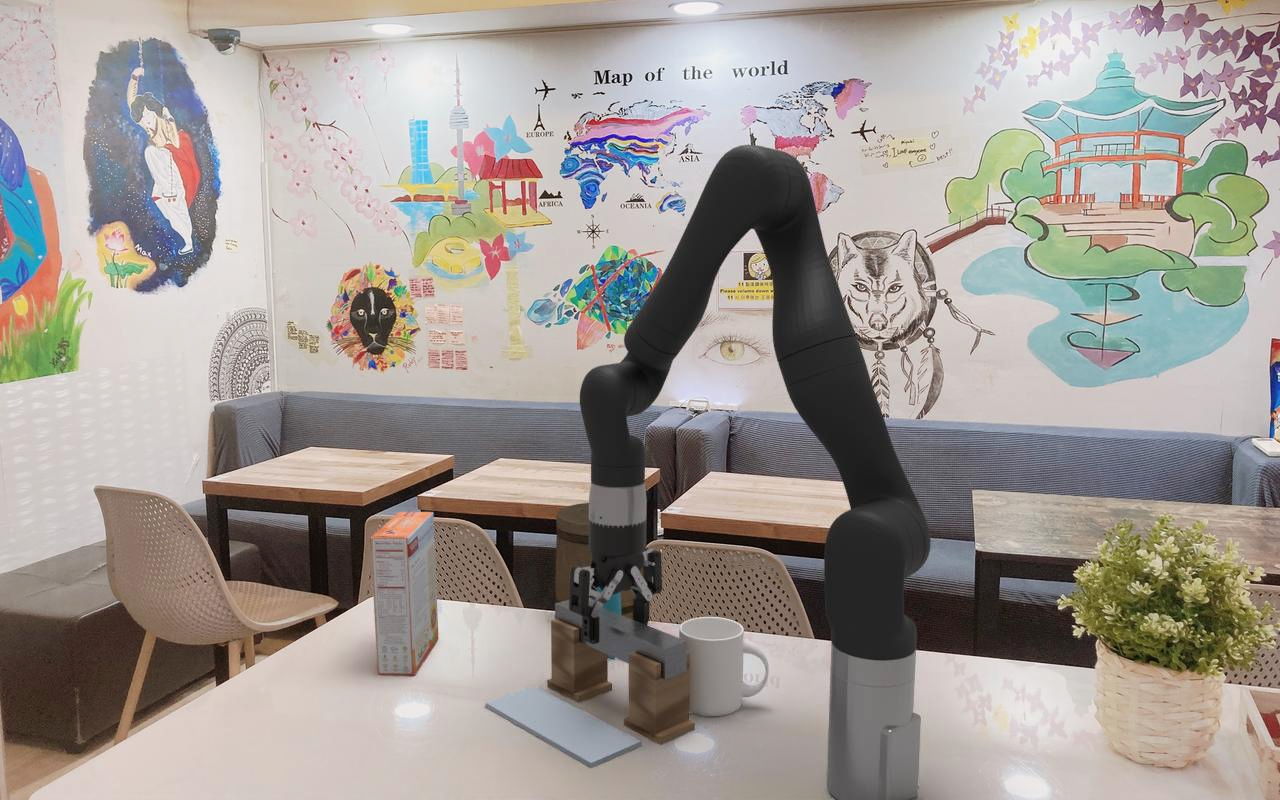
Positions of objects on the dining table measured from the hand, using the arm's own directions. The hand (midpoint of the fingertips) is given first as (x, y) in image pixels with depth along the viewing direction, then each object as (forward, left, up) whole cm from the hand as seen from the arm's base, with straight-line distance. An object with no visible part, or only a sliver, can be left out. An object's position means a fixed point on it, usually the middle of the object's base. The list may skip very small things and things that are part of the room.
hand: (616, 634), depth 135 cm
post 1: (+8, 0, -10) cm, 13 cm away
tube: (+15, -11, -10) cm, 21 cm away
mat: (+1, +9, -10) cm, 14 cm away
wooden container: (+27, -20, -10) cm, 35 cm away
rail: (0, 0, -2) cm, 2 cm away
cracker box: (+34, +12, -10) cm, 37 cm away
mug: (-9, -11, -10) cm, 18 cm away
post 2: (-8, 0, -10) cm, 13 cm away
